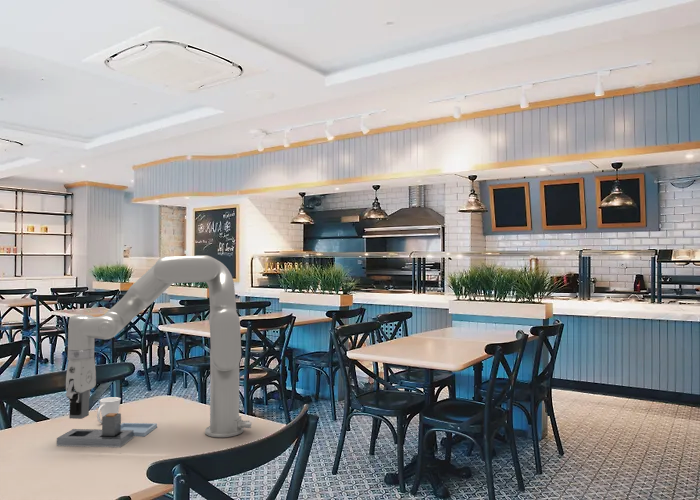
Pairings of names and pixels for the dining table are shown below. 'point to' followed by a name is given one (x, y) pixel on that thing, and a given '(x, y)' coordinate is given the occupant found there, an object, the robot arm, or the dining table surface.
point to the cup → (108, 406)
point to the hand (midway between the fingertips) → (79, 412)
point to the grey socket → (98, 434)
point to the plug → (82, 405)
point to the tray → (139, 428)
